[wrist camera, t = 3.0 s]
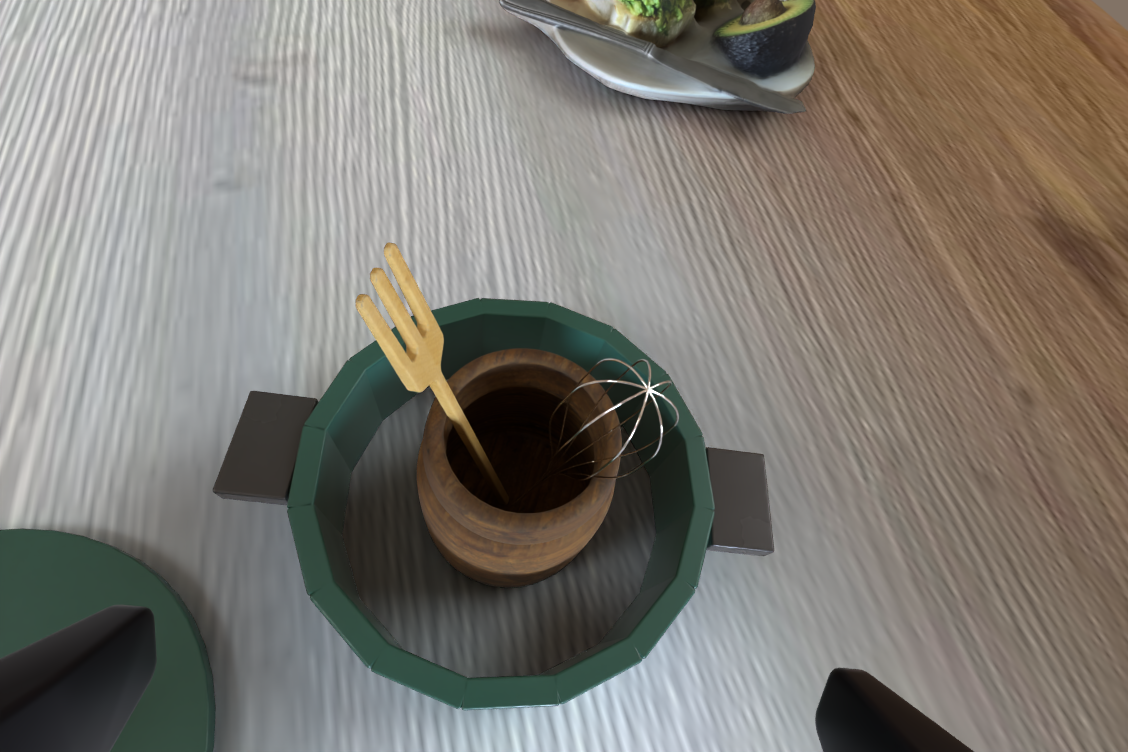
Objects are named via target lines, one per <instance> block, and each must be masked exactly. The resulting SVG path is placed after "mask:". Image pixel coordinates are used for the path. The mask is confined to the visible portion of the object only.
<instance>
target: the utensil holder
mask: <svg viewBox="0 0 1128 752" xmlns="http://www.w3.org/2000/svg"><path fill="white" fill-rule="evenodd" d="M384 255H385V257H386V259H387V262H388V264H389V266H390V268H391V270H392V272H393V274H394V276H395V278H396V280H397V282H398V284H399V286H400V288H401V290H402V292H403V294H404V296H405V298H406V300H407V303H408V305H409V307H410V309H411V311H412V313H413V315H414V317H415V319H416V321H417V327H416V325H415V324H414V322H413V320H412V319H411V317H410V315H409V313H408V312H407V310H406V308H405V307H404V305H403V303H402V301H401V300H400V298H399V296H398V295H397V293H396V291H395V289H394V288H393V286H392V284H391V283H390V281H389V279H388V277H387V276H386V274H385V272H384V271H383V269H381V268H373V269H372V271H371V273H370V280H371V282H372V284H373V286H374V288H375V289H376V291H377V293H378V295H379V297H380V299H381V300H382V302H383V304H384V306H385V308H386V310H387V311H388V313H389V315H390V317H391V319H392V320H393V322H394V324H395V326H396V328H397V330H398V331H399V333H400V335H401V337H402V339H403V341H404V342H405V344H406V352H405V351H404V349H403V348H402V346H401V345H400V343H399V342H398V340H397V338H396V337H395V335H394V334H393V332H392V331H391V329H390V328H389V326H388V325H387V323H386V322H385V320H384V318H383V317H382V315H381V314H380V312H379V311H378V309H377V308H376V306H375V305H374V303H373V302H372V300H371V299H370V297H369V296H368V295H365V294H360V295H358V297H357V299H356V308H357V310H358V312H359V313H360V315H361V316H362V318H363V320H364V321H365V323H366V324H367V326H368V328H369V329H370V331H371V333H372V334H373V336H374V337H375V339H376V341H377V342H378V344H379V345H380V347H381V349H382V350H383V352H384V354H385V355H386V357H387V358H388V360H389V362H390V363H391V365H392V366H393V368H394V370H395V371H396V373H397V375H398V376H399V378H400V379H401V381H402V382H403V384H404V385H405V387H406V388H407V390H409V391H415V392H423V391H424V390H425V389H426V388H427V387H428V386H430V387H431V389H432V391H433V392H434V394H435V396H436V398H435V400H434V402H433V404H432V406H431V409H430V412H429V415H428V418H427V421H426V425H425V429H424V435H423V440H422V442H421V446H420V449H419V454H418V460H417V489H418V495H419V500H420V504H421V508H422V512H423V516H424V519H425V522H426V525H427V528H428V531H429V533H430V536H431V538H432V540H433V542H434V544H435V545H436V547H437V549H438V550H439V552H440V553H441V554H442V556H443V557H444V558H445V559H446V560H447V561H448V562H449V563H450V564H451V565H452V566H453V567H454V568H455V569H456V570H458V571H459V572H460V573H462V574H463V575H465V576H467V577H469V578H471V579H473V580H475V581H477V582H480V583H482V584H486V585H490V586H495V587H507V588H511V587H522V586H527V585H531V584H534V583H537V582H540V581H542V580H545V579H547V578H549V577H551V576H552V575H554V574H556V573H557V572H559V571H560V570H561V569H563V568H564V567H565V566H566V565H567V564H569V563H570V562H571V561H572V560H573V559H574V558H575V557H576V556H577V555H578V553H579V552H580V551H581V550H582V549H583V548H584V547H585V546H586V544H587V543H588V542H589V541H590V539H591V538H592V537H593V536H594V534H595V533H596V531H597V530H598V528H599V527H600V525H601V523H602V522H603V520H604V518H605V516H606V514H607V511H608V509H609V506H610V504H611V501H612V497H613V493H614V488H615V480H616V478H621V477H624V476H627V475H629V474H631V473H633V472H634V471H636V470H637V469H639V468H640V467H642V466H643V465H644V464H646V463H647V462H648V461H650V460H651V459H652V458H653V457H654V456H655V455H656V454H657V453H658V451H659V449H660V446H661V442H662V437H663V436H664V435H666V434H667V433H668V432H670V431H671V430H672V429H673V428H674V427H675V426H676V425H677V423H678V420H679V413H678V410H677V408H676V406H675V405H674V404H673V403H672V402H671V401H670V400H669V399H668V398H666V397H665V396H663V395H662V393H663V392H664V391H666V390H667V389H668V388H669V387H670V385H671V383H672V382H671V381H669V380H668V381H664V382H661V383H658V384H656V385H654V386H651V387H650V381H651V367H650V364H649V362H648V361H647V360H645V359H641V360H638V361H637V362H635V363H634V364H633V365H632V366H629V365H628V364H626V363H625V362H623V361H620V360H618V359H611V358H609V359H604V360H601V361H599V362H598V363H597V364H596V365H594V366H593V367H592V368H591V369H590V370H589V371H588V372H587V371H586V370H584V369H583V368H582V367H580V366H579V365H577V364H575V363H574V362H572V361H570V360H568V359H566V358H564V357H562V356H559V355H557V354H554V353H550V352H547V351H542V350H537V349H527V348H516V349H506V350H500V351H496V352H492V353H489V354H486V355H483V356H481V357H479V358H477V359H475V360H473V361H471V362H469V363H468V364H466V365H465V366H463V367H462V368H461V369H459V370H458V371H457V372H456V373H455V374H453V375H452V376H451V377H450V378H449V380H448V381H446V379H445V378H444V376H443V374H442V372H441V366H440V364H441V357H442V350H443V343H444V338H443V334H442V332H441V330H440V327H439V325H438V323H437V321H436V320H435V318H434V316H433V314H432V312H431V310H430V308H429V306H428V304H427V302H426V301H425V299H424V297H423V295H422V293H421V291H420V289H419V287H418V285H417V283H416V282H415V280H414V278H413V276H412V274H411V272H410V270H409V268H408V266H407V264H406V263H405V261H404V259H403V257H402V255H401V253H400V251H399V249H398V247H397V245H396V244H394V243H387V244H386V245H385V247H384ZM604 361H616V362H619V363H622V364H624V365H625V366H627V367H628V369H627V370H626V371H625V372H624V373H623V374H622V375H621V376H620V377H619V378H618V379H617V380H598V381H597V380H596V379H595V378H594V377H592V376H591V375H590V374H589V373H590V372H591V371H592V370H593V369H594V368H595V367H596V366H598V365H599V364H600V363H602V362H604ZM642 361H643V362H646V363H647V365H648V369H649V377H648V385H646V383H645V382H644V380H643V379H642V378H641V376H640V375H639V374H638V373H637V372H636V371H635V370H634V369H633V368H632V367H633V366H635V365H636V364H637V363H639V362H642ZM630 369H631V370H632V371H633V372H634V373H635V374H636V375H637V376H638V378H639V379H640V380H641V382H642V383H643V385H644V386H645V387H644V386H641V385H638V384H634V383H631V382H626V381H619V379H620V378H621V377H622V376H624V375H625V374H626V373H627V372H628V371H629V370H630ZM601 382H614V383H613V384H612V385H611V386H610V387H609V388H608V389H607V390H606V392H605V390H604V389H603V388H602V386H601V385H600V384H599V383H601ZM615 383H624V384H629V385H633V386H636V387H640V388H642V389H645V390H643V391H641V392H639V393H637V394H635V395H633V396H631V397H629V398H627V399H625V400H624V401H622V402H620V403H618V404H617V405H615V406H613V404H612V402H611V400H610V398H609V396H608V395H607V392H608V391H609V390H610V389H611V388H612V386H613V385H614V384H615ZM665 383H669V385H668V386H667V387H666V388H665V389H664V390H662V391H661V392H660V393H658V392H656V391H654V390H651V389H653V388H655V387H657V386H659V385H662V384H665ZM644 392H646V395H645V399H644V403H643V406H642V408H641V409H639V410H638V411H637V412H636V413H634V414H633V415H632V416H630V417H629V418H628V419H626V420H625V421H623V422H622V423H621V424H620V423H619V419H618V416H617V413H616V410H615V408H616V407H618V406H620V405H621V404H623V403H625V402H627V401H629V400H630V399H632V398H634V397H636V396H638V395H640V394H642V393H644ZM651 392H652V393H655V394H657V396H655V397H653V395H652V393H651ZM648 393H649V394H650V396H651V398H652V400H651V401H649V402H648V403H647V404H646V401H647V397H648ZM658 396H660V397H662V398H664V399H665V400H667V401H668V402H669V403H670V404H671V405H672V406H673V407H674V409H675V411H676V414H677V419H676V422H675V424H674V425H673V426H672V427H671V428H670V429H669V430H667V431H666V432H665V433H664V434H663V426H662V419H661V415H660V411H659V408H658V406H657V403H656V401H655V399H656V398H657V397H658ZM652 401H653V402H654V405H655V407H656V410H657V413H658V417H659V421H660V437H658V438H657V439H656V440H654V441H653V442H651V443H650V444H648V445H646V446H644V447H642V448H640V449H638V450H636V451H633V452H630V453H626V454H623V455H621V452H622V451H623V450H624V449H625V447H626V446H627V444H628V443H629V441H630V439H631V438H632V436H633V434H634V432H635V430H636V428H637V426H638V424H639V421H640V419H641V416H642V414H643V411H644V408H645V407H646V406H648V405H649V404H650V403H651V402H652ZM640 411H641V412H640ZM639 412H640V415H639V418H638V420H637V422H636V425H635V427H634V429H633V431H632V433H631V435H630V436H629V438H628V440H627V441H626V443H625V444H624V446H623V447H622V437H621V429H620V426H621V425H622V424H624V423H625V422H627V421H628V420H629V419H631V418H632V417H633V416H635V415H636V414H637V413H639ZM659 439H660V441H659V445H658V448H657V450H656V452H655V453H654V454H653V455H652V456H651V457H650V458H649V459H647V460H646V461H645V462H643V463H642V464H641V465H639V466H638V467H636V468H635V469H634V470H632V471H630V472H628V473H626V474H624V475H621V476H617V474H618V470H619V465H620V459H621V457H623V456H626V455H630V454H633V453H636V452H638V451H641V450H643V449H645V448H647V447H648V446H650V445H652V444H653V443H655V442H656V441H658V440H659Z"/></svg>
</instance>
